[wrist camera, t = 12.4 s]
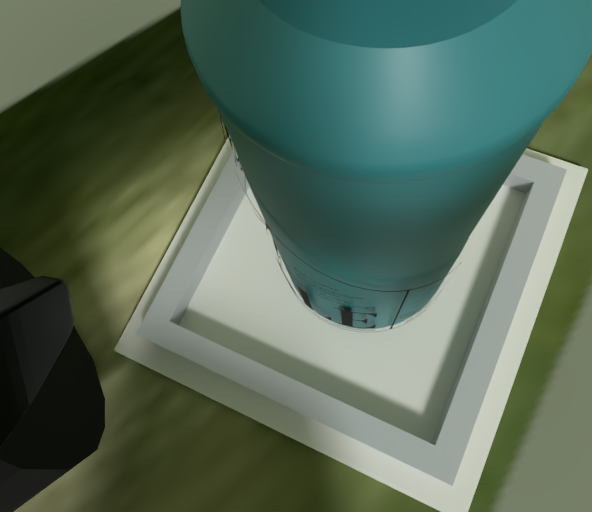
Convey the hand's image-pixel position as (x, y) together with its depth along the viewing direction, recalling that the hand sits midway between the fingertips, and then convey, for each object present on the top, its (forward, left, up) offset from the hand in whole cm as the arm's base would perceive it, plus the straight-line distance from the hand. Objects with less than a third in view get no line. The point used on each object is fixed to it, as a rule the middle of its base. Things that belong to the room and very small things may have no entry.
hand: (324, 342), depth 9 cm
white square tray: (+5, +2, -14) cm, 15 cm away
